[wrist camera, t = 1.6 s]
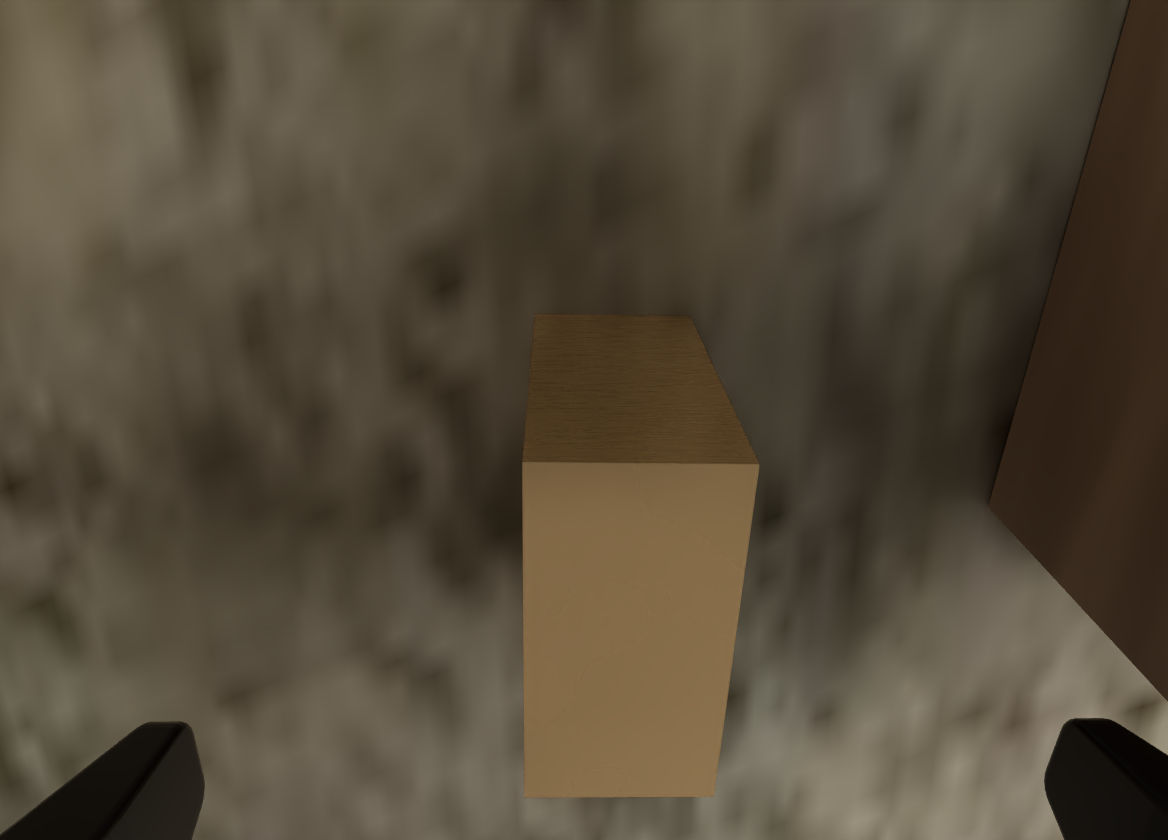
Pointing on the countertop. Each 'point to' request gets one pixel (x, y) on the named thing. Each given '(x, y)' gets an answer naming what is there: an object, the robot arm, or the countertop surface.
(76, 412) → the countertop surface
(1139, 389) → the box
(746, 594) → the countertop surface
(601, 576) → the tan flat block
